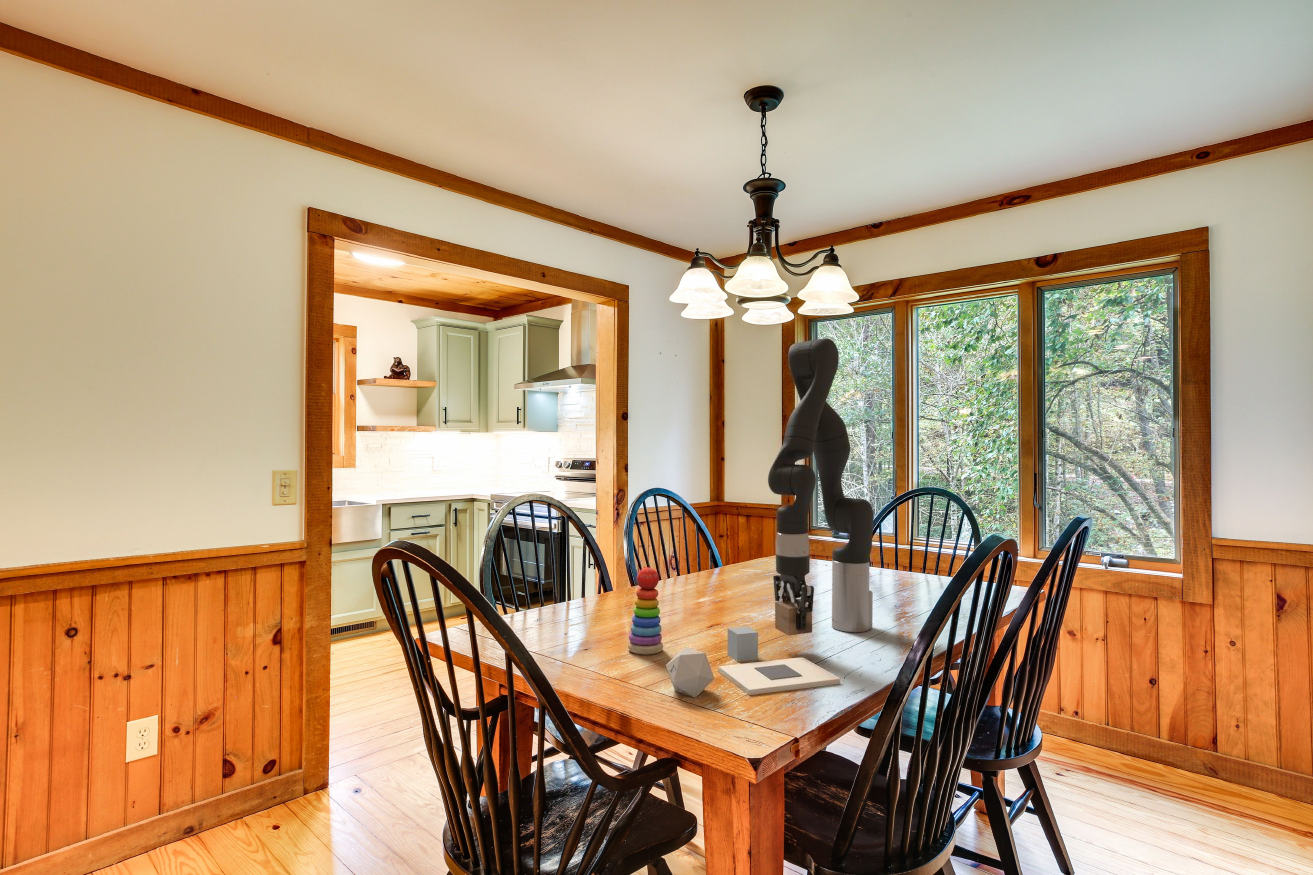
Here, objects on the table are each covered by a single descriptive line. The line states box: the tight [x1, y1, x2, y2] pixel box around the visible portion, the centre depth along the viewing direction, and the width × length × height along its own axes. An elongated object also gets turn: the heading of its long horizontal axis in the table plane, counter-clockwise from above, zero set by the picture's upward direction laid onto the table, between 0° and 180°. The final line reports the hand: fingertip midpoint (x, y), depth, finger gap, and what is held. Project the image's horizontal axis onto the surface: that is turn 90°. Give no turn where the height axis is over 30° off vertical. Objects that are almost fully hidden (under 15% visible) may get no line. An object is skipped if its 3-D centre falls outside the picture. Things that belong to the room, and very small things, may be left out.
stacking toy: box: [627, 567, 664, 656], centre depth 157 cm, size 8×8×19 cm
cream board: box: [717, 657, 841, 696], centre depth 140 cm, size 20×14×1 cm
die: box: [665, 647, 715, 698], centre depth 131 cm, size 8×9×10 cm
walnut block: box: [774, 601, 813, 636], centre depth 157 cm, size 6×6×6 cm
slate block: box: [727, 626, 759, 663], centre depth 153 cm, size 5×5×6 cm
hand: (793, 625), depth 157 cm, fingers closed on walnut block, 6 cm apart
